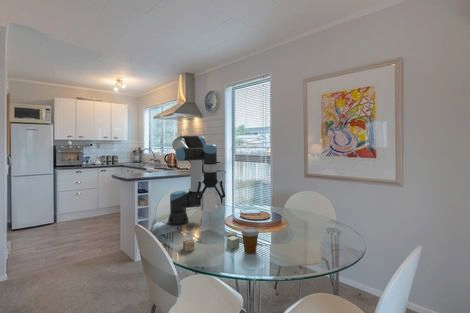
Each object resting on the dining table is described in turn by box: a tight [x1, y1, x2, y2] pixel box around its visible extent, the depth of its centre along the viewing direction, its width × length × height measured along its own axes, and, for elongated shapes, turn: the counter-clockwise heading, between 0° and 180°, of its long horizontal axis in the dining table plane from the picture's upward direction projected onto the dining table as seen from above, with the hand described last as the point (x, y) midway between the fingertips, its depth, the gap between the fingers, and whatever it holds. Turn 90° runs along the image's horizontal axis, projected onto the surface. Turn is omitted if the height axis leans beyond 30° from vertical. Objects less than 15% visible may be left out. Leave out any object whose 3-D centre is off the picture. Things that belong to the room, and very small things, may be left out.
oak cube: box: [182, 237, 195, 252], centre depth 151 cm, size 5×5×5 cm
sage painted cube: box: [226, 236, 240, 250], centre depth 154 cm, size 5×5×5 cm
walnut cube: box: [227, 231, 238, 238], centre depth 161 cm, size 5×5×5 cm
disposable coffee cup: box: [241, 226, 260, 255], centre depth 147 cm, size 10×10×12 cm
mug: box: [201, 190, 222, 213], centre depth 156 cm, size 9×12×11 cm
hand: (210, 209), depth 156 cm, fingers closed on mug, 10 cm apart
